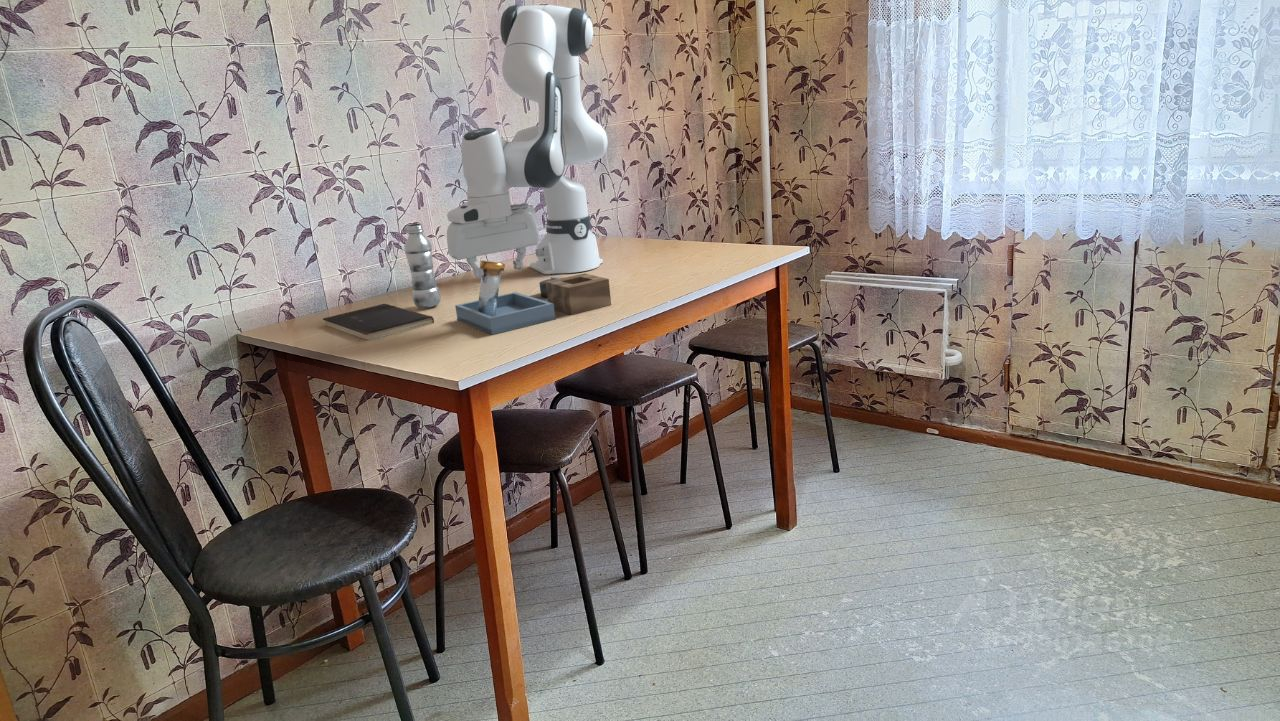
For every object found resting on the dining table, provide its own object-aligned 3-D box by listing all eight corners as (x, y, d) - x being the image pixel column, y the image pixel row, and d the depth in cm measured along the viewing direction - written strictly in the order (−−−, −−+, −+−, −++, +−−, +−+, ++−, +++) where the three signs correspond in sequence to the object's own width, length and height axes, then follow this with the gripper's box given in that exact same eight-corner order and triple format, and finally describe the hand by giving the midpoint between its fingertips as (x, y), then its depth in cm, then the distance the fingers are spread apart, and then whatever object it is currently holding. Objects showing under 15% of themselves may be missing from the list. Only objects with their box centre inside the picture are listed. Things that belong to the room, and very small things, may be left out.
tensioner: (530, 301, 197) (527, 277, 196) (567, 293, 203) (565, 268, 201) (571, 314, 182) (568, 288, 180) (611, 304, 187) (608, 278, 186)
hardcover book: (367, 343, 176) (365, 333, 175) (324, 327, 193) (322, 318, 192) (434, 325, 186) (433, 315, 185) (388, 312, 202) (387, 302, 202)
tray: (457, 320, 186) (455, 305, 185) (517, 306, 194) (515, 292, 193) (492, 334, 172) (489, 318, 171) (555, 319, 179) (553, 303, 178)
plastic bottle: (447, 303, 203) (434, 221, 197) (432, 310, 197) (418, 226, 191) (424, 303, 205) (410, 222, 199) (409, 310, 199) (394, 227, 193)
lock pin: (469, 314, 180) (476, 259, 179) (491, 316, 183) (498, 262, 182) (480, 318, 176) (486, 262, 174) (502, 320, 179) (509, 264, 178)
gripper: (526, 200, 183) (534, 262, 187) (439, 214, 172) (449, 279, 177) (540, 202, 178) (548, 265, 182) (451, 216, 167) (461, 283, 172)
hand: (499, 272), depth 180 cm, fingers open, 8 cm apart
